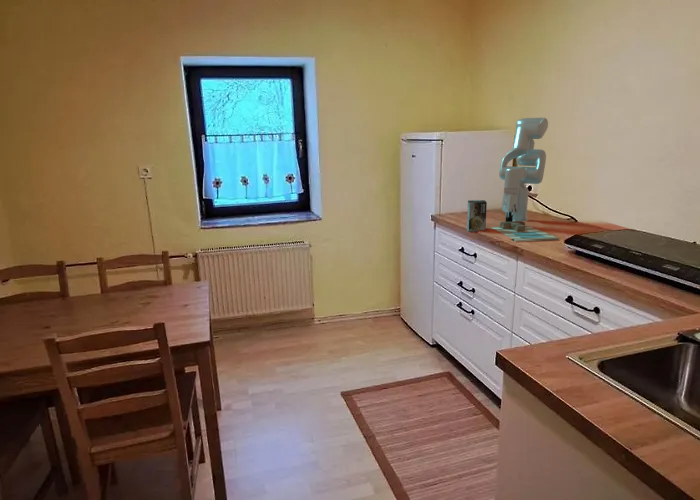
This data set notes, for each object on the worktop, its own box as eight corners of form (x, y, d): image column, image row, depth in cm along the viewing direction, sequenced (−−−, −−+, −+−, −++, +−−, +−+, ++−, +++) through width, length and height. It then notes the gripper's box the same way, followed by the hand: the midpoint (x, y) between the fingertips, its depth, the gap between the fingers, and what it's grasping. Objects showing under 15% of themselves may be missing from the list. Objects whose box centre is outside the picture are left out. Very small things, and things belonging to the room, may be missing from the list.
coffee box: (483, 229, 246) (485, 200, 242) (485, 231, 240) (487, 201, 236) (466, 229, 247) (467, 200, 243) (468, 231, 241) (469, 201, 237)
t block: (500, 227, 245) (500, 222, 245) (521, 226, 247) (521, 221, 246) (509, 232, 234) (510, 226, 233) (531, 231, 235) (532, 225, 234)
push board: (490, 229, 246) (490, 227, 246) (528, 227, 248) (529, 225, 248) (515, 242, 217) (515, 239, 217) (558, 240, 219) (558, 238, 219)
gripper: (498, 189, 250) (496, 222, 255) (510, 192, 236) (508, 227, 240) (511, 189, 251) (509, 221, 256) (524, 192, 237) (521, 226, 241)
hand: (508, 224), depth 248 cm, fingers closed
